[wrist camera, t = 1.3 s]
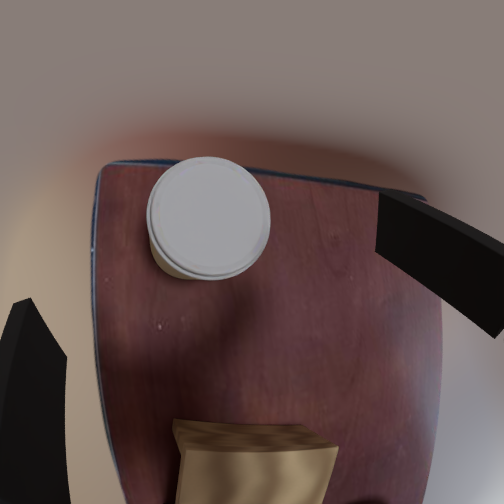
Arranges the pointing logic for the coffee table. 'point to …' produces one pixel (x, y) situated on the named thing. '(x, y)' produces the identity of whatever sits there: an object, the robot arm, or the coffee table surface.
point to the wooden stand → (251, 463)
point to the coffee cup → (207, 219)
